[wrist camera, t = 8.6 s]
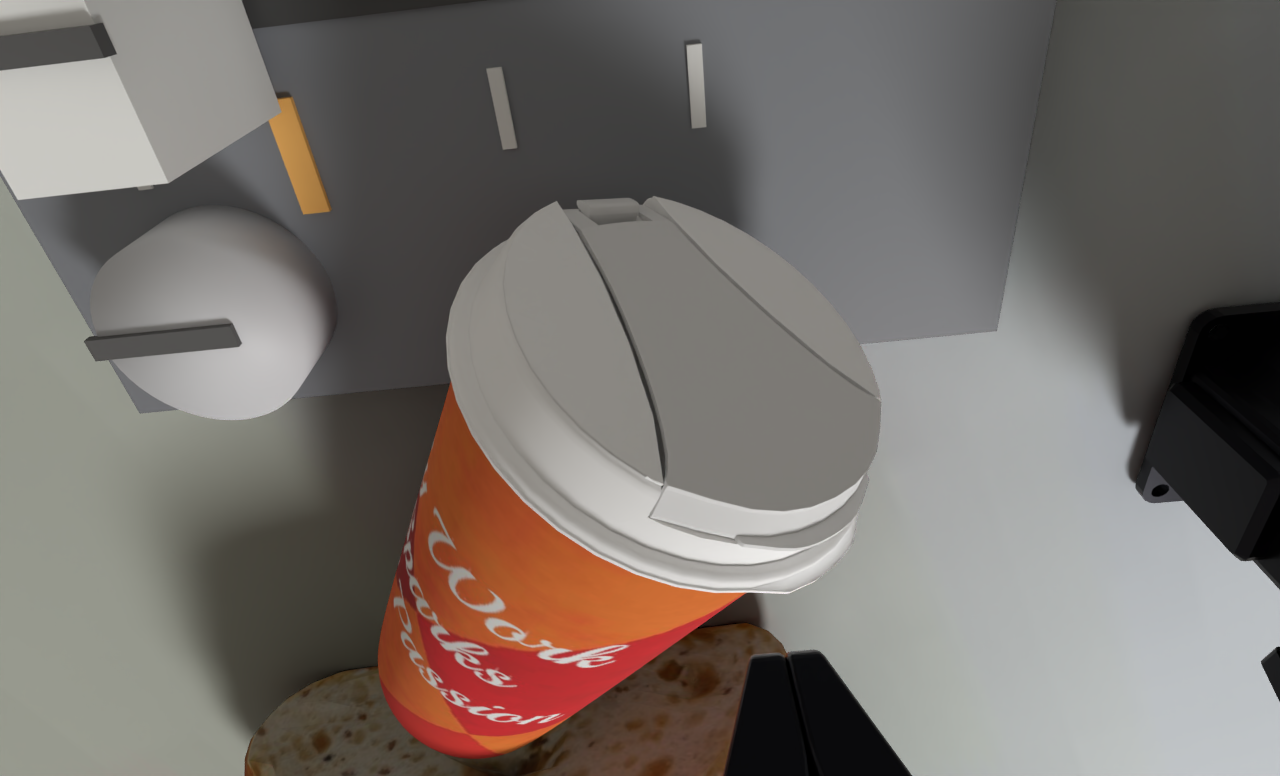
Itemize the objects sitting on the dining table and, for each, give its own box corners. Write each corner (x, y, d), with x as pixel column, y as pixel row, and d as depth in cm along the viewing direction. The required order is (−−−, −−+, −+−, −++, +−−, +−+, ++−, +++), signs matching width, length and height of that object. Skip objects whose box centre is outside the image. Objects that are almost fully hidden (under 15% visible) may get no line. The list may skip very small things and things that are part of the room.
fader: (198, -130, 13) (11, -139, 9) (284, 111, 15) (165, 187, 11) (59, -111, 13) (-184, -112, 9) (164, 125, 15) (5, 204, 11)
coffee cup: (290, 588, 22) (379, 174, 12) (528, 504, 27) (732, 167, 17) (407, 879, 19) (669, 659, 8) (651, 720, 24) (993, 465, 14)
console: (1127, -679, 11) (1321, -903, 8) (973, 303, 20) (1036, 378, 17) (-285, -451, 12) (-598, -568, 9) (169, 381, 21) (90, 465, 18)
